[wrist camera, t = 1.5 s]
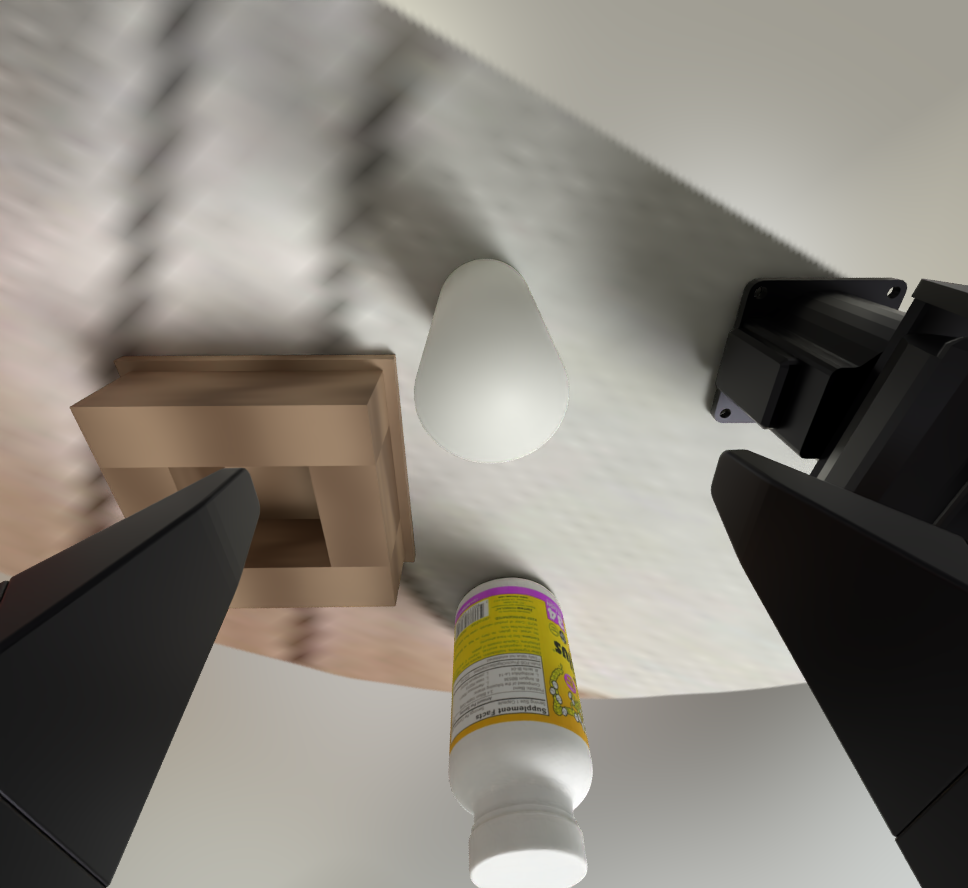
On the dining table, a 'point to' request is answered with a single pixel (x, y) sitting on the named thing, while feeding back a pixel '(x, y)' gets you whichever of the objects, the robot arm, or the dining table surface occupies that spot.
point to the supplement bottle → (518, 737)
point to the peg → (489, 368)
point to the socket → (271, 463)
